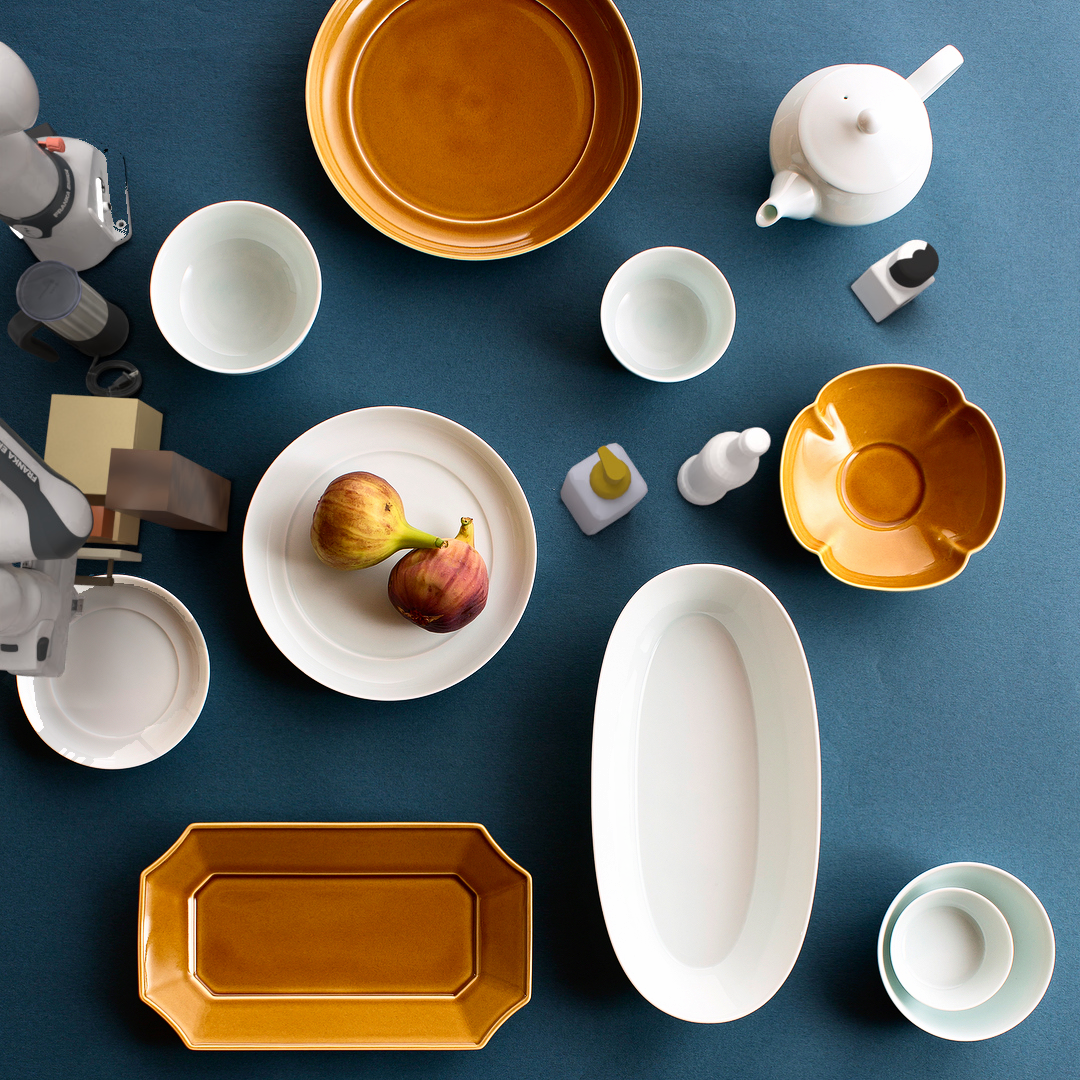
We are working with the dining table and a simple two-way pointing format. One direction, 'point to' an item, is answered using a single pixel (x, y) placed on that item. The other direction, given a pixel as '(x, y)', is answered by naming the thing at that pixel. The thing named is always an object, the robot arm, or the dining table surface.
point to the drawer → (122, 534)
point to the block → (102, 523)
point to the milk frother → (72, 323)
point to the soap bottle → (602, 488)
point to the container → (897, 278)
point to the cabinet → (96, 436)
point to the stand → (167, 490)
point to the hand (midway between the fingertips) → (78, 605)
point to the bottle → (722, 465)
